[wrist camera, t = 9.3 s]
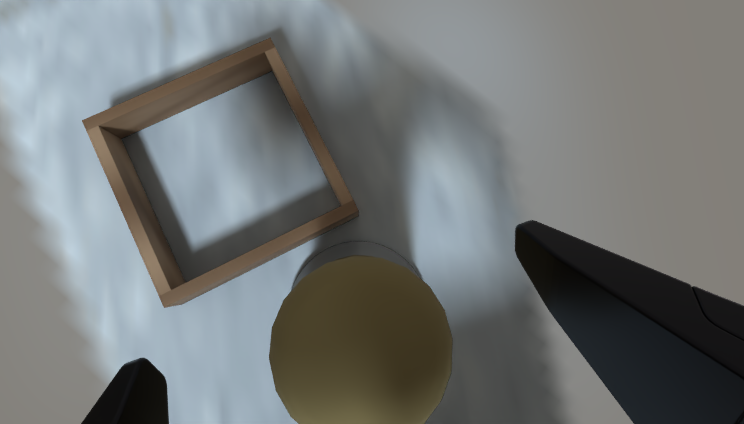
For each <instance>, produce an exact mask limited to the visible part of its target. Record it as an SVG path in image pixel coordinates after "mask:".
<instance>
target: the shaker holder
mask: <svg viewBox="0 0 744 424" xmlns="http://www.w3.org/2000/svg"><path fill="white" fill-rule="evenodd" d="M271 71H273V73H274V75H275V77H276V79H277V81H278V83H279V85H280V87H281V89H282V91H283V93H284V95H285V97H286V99H287V101H288V103H289V105H290V106H291V108H292V110H293V112H294V114H295V116H296V118H297V120H298V122H299V124H300V126H301V128H302V130H303V132H304V134H305V136H306V138H307V140H308V142H309V144H310V146H311V148H312V150H313V152H314V154H315V156H316V158H317V160H318V162H319V164H320V166H321V168H322V170H323V172H324V174H325V176H326V177H327V179H328V181H329V183H330V185H331V187H332V189H333V191H334V193H335V195H336V197H337V199H338V201H339V203H340V205H341V206H340V207H338V208H336V209H334V210H332V211H330V212H328V213H326V214H324V215H322V216H320V217H318V218H316V219H314V220H312V221H310V222H308V223H306V224H304V225H302V226H300V227H298V228H295V229H293V230H291V231H289V232H287V233H285V234H283V235H281V236H279V237H277V238H275V239H273V240H271V241H269V242H267V243H265V244H263V245H261V246H259V247H257V248H255V249H253V250H251V251H249V252H247V253H245V254H243V255H241V256H239V257H237V258H235V259H233V260H231V261H229V262H227V263H225V264H223V265H221V266H219V267H217V268H215V269H213V270H211V271H209V272H207V273H205V274H203V275H201V276H199V277H197V278H195V279H193V280H191V281H189V282H185V280H184V278H183V276H182V273H181V271H180V269H179V267H178V264H177V262H176V260H175V258H174V256H173V253H172V251H171V249H170V247H169V244H168V242H167V240H166V238H165V235H164V233H163V231H162V229H161V227H160V224H159V222H158V220H157V218H156V215H155V213H154V211H153V209H152V206H151V204H150V202H149V200H148V198H147V195H146V193H145V191H144V189H143V186H142V184H141V182H140V180H139V177H138V175H137V173H136V171H135V169H134V166H133V164H132V162H131V160H130V157H129V155H128V153H127V151H126V148H125V146H124V144H123V142H122V140H121V139H122V138H124V137H126V136H129V135H131V134H133V133H135V132H137V131H140V130H142V129H144V128H146V127H149V126H151V125H153V124H155V123H157V122H160V121H162V120H164V119H166V118H169V117H171V116H173V115H175V114H178V113H180V112H182V111H184V110H186V109H189V108H191V107H193V106H195V105H198V104H200V103H202V102H204V101H206V100H209V99H211V98H213V97H215V96H218V95H220V94H222V93H224V92H226V91H229V90H231V89H233V88H235V87H238V86H240V85H242V84H244V83H246V82H249V81H251V80H253V79H255V78H258V77H260V76H262V75H264V74H267V73H269V72H271ZM82 122H83V124H84V126H85V129H86V131H87V133H88V135H89V138H90V140H91V142H92V144H93V147H94V149H95V151H96V154H97V156H98V158H99V160H100V163H101V165H102V167H103V170H104V172H105V174H106V176H107V179H108V181H109V183H110V186H111V188H112V190H113V192H114V195H115V197H116V199H117V201H118V204H119V206H120V208H121V211H122V213H123V215H124V217H125V220H126V222H127V224H128V227H129V229H130V231H131V233H132V236H133V238H134V240H135V243H136V245H137V247H138V249H139V252H140V254H141V256H142V259H143V261H144V263H145V265H146V268H147V270H148V272H149V274H150V277H151V279H152V281H153V284H154V286H155V288H156V290H157V293H158V295H159V297H160V300H161V302H162V304H163V306H164V308H165V307H171V306H176V305H181V304H184V303H186V302H188V301H190V300H192V299H194V298H196V297H198V296H200V295H202V294H204V293H206V292H208V291H210V290H212V289H214V288H216V287H218V286H220V285H222V284H224V283H226V282H228V281H230V280H232V279H234V278H236V277H238V276H240V275H242V274H244V273H246V272H248V271H250V270H252V269H254V268H256V267H258V266H260V265H262V264H264V263H266V262H268V261H270V260H272V259H274V258H276V257H278V256H280V255H282V254H284V253H286V252H288V251H290V250H292V249H294V248H296V247H298V246H300V245H302V244H304V243H306V242H308V241H310V240H312V239H314V238H316V237H318V236H320V235H322V234H324V233H326V232H328V231H330V230H332V229H334V228H336V227H338V226H340V225H342V224H344V223H346V222H348V221H350V220H352V219H354V218H356V217H358V216H359V210H358V208H357V206H356V204H355V202H354V200H353V198H352V196H351V194H350V192H349V191H348V189H347V187H346V185H345V183H344V181H343V179H342V177H341V175H340V173H339V171H338V169H337V167H336V165H335V163H334V161H333V159H332V157H331V155H330V153H329V151H328V149H327V148H326V146H325V144H324V142H323V140H322V138H321V136H320V134H319V132H318V130H317V128H316V126H315V124H314V122H313V120H312V118H311V116H310V114H309V112H308V110H307V108H306V106H305V105H304V103H303V101H302V99H301V97H300V95H299V93H298V91H297V89H296V87H295V85H294V83H293V81H292V79H291V77H290V75H289V73H288V71H287V69H286V67H285V65H284V64H283V62H282V60H281V58H280V56H279V54H278V52H277V50H276V48H275V46H274V44H273V42H272V40H271V38H268V39H266V40H264V41H262V42H259V43H257V44H255V45H252V46H250V47H248V48H246V49H243V50H241V51H239V52H237V53H234V54H232V55H230V56H227V57H225V58H223V59H221V60H218V61H216V62H214V63H212V64H209V65H207V66H205V67H203V68H200V69H198V70H196V71H193V72H191V73H189V74H187V75H184V76H182V77H180V78H178V79H175V80H173V81H171V82H168V83H166V84H164V85H162V86H159V87H157V88H155V89H153V90H150V91H148V92H146V93H143V94H141V95H139V96H137V97H134V98H132V99H130V100H128V101H125V102H123V103H121V104H118V105H116V106H114V107H112V108H109V109H107V110H105V111H103V112H100V113H98V114H96V115H93V116H91V117H89V118H87V119H84V120H82Z"/></svg>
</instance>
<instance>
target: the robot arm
mask: <svg viewBox="0 0 744 424" xmlns="http://www.w3.org/2000/svg"><path fill="white" fill-rule="evenodd" d="M515 252H516V255H517V258H518V259H519V261H520V263H521V265H522V266H523V268H524V270H525V271H526V273H527V275H528V276H529V278H530V280H531V281H532V283H533V285H534V287H535V288H536V290H537V292H538V293H539V295H540V297H541V298H542V300H543V302H544V303H545V305H546V306H547V308H548V310H549V311H550V312H551V314H552V315H553V317H554V318H555V319H556V321H557V322H558V323H559V325H560V326H561V327H562V329H563V330H564V331H565V333H566V334H567V335H568V337H569V338H570V339H571V341H572V342H573V343H574V345H575V346H576V347H577V348H578V350H579V351H580V353H581V354H582V355H583V357H584V358H585V359H586V360H587V362H588V363H589V364H590V366H591V367H592V368H593V370H594V371H595V372H596V374H597V375H598V376H599V378H600V379H601V380H602V382H603V383H604V384H605V386H606V387H607V388H608V390H609V391H610V392H611V394H612V395H613V396H614V398H615V399H616V400H617V402H618V403H619V404H620V406H621V407H622V408H623V410H624V411H625V412H626V414H627V415H628V416H629V417H630V419H631V420H632V421H633V423H634V424H744V306H743V305H741V304H738V303H736V302H733V301H730V300H728V299H725V298H723V297H720V296H718V295H715V294H712V293H710V292H708V291H705V290H703V289H700V288H698V287H695V286H693V287H691V285H690V284H688V283H685V282H683V281H680V280H678V279H676V278H673V277H671V276H668V275H666V274H663V273H661V272H659V271H656V270H654V269H651V268H649V267H646V266H644V265H642V264H639V263H637V262H634V261H631V260H629V259H627V258H625V257H622V256H620V255H617V254H615V253H612V252H610V251H608V250H605V249H603V248H600V247H598V246H595V245H593V244H590V243H588V242H586V241H583V240H580V239H578V238H576V237H573V236H571V235H568V234H566V233H564V232H561V231H559V230H556V229H554V228H552V227H549V226H547V225H544V224H542V223H539V222H537V221H533V220H531V221H527V222H524V223H522V224H519V225H517V227H516V229H515ZM81 424H169V416H168V396H167V383H166V379H165V377H164V376H163V374H162V373H161V372H160V371H159V370H158V369H157V368H156V367H155V366H154V365H153V364H152V363H151V362H150V361H149V360H147V359H146V358H139V359H136V360H133V361H131V362H128V363H126V364H124V365H123V366H122V367H121V369H120V370H119V371H118V373H117V374H116V376H115V377H114V378H113V380H112V381H111V383H110V384H109V385H108V387H107V388H106V390H105V391H104V392H103V394H102V395H101V397H100V398H99V399H98V401H97V402H96V404H95V405H94V406H93V408H92V409H91V411H90V412H89V413H88V415H87V416H86V418H85V419H84V421H83V422H82V423H81Z"/></svg>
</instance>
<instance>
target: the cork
mask: <svg viewBox="0 0 744 424" xmlns="http://www.w3.org/2000/svg"><path fill="white" fill-rule="evenodd" d="M269 360H270V365H271V370H272V374H273V379H274V384H275V388H276V392H277V393H278V395H279V397H280V399H281V400H282V402H283V404H284V406H285V407H286V409H287V411H288V413H289V414H290V416H291V417H292V418H293V419H294V420H295V421H296V422H297V423H298V424H424V423H425V422H426V420H427V419H428V418H429V416H430V415H431V414H432V412H433V411H434V410H435V408H436V407H437V406H438V404H439V403H440V402H441V400H442V397H443V395H444V392H445V389H446V386H447V383H448V380H449V377H450V375H451V368H452V335H451V331H450V328H449V324H448V320H447V317H446V313H445V310H444V308H443V307H442V305H441V304H440V302H439V301H438V299H437V297H436V296H435V294H434V293H433V291H432V290H431V288H430V287H429V286H428V285H427V284H426V283H425V282H424V281H422V280H421V279H420V278H419V277H418V276H416V275H415V274H414V273H413V272H412V271H410V270H409V269H408V268H406V267H404V266H401V265H399V264H396V263H394V262H391V261H389V260H386V259H384V258H378V257H373V256H364V255H352V256H348V257H344V258H340V259H336V260H335V261H332V262H328V263H326V264H324V265H322V266H321V267H319V268H318V269H316V270H314V271H313V272H311V273H310V274H308V275H306V276H305V277H303V278H302V279H301V280H300V282H299V283H298V284H297V285H296V286H295V287H294V289H293V290H292V291H291V292H290V293H289V294H288V296H287V297H286V298H285V299H284V301H283V303H282V305H281V308H280V310H279V312H278V315H277V317H276V319H275V322H274V324H273V327H272V333H271V343H270V353H269Z"/></svg>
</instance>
